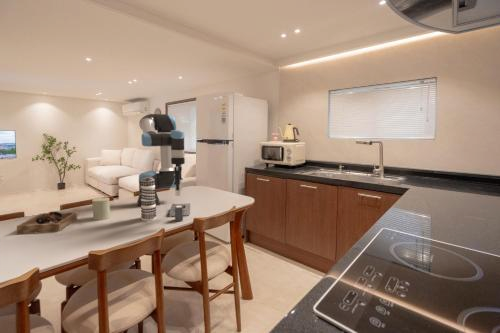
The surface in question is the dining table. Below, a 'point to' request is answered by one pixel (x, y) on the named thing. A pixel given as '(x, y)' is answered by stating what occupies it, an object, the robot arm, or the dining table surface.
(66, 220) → the tray
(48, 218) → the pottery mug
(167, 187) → the robot arm
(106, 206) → the can
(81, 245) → the dining table surface
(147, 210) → the decorative candle
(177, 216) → the plug
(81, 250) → the dining table surface
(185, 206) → the socket plate
